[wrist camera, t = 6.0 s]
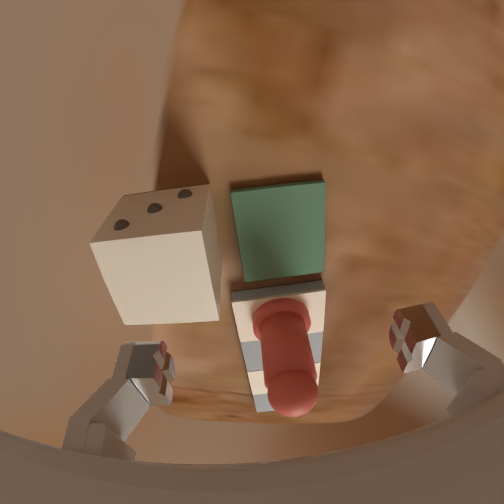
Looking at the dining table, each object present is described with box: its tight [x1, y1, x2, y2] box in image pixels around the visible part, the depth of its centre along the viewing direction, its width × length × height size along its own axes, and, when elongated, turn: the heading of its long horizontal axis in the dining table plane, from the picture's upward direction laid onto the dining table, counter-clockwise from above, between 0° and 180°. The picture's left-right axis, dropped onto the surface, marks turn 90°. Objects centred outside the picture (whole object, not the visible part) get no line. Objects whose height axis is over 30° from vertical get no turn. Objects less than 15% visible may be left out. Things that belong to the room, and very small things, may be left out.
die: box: [90, 184, 222, 325], centre depth 15 cm, size 6×5×5 cm
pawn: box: [252, 298, 318, 417], centre depth 17 cm, size 4×4×7 cm
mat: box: [231, 180, 325, 282], centre depth 18 cm, size 6×5×1 cm
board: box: [232, 280, 326, 412], centre depth 24 cm, size 16×6×1 cm, turn 6°
